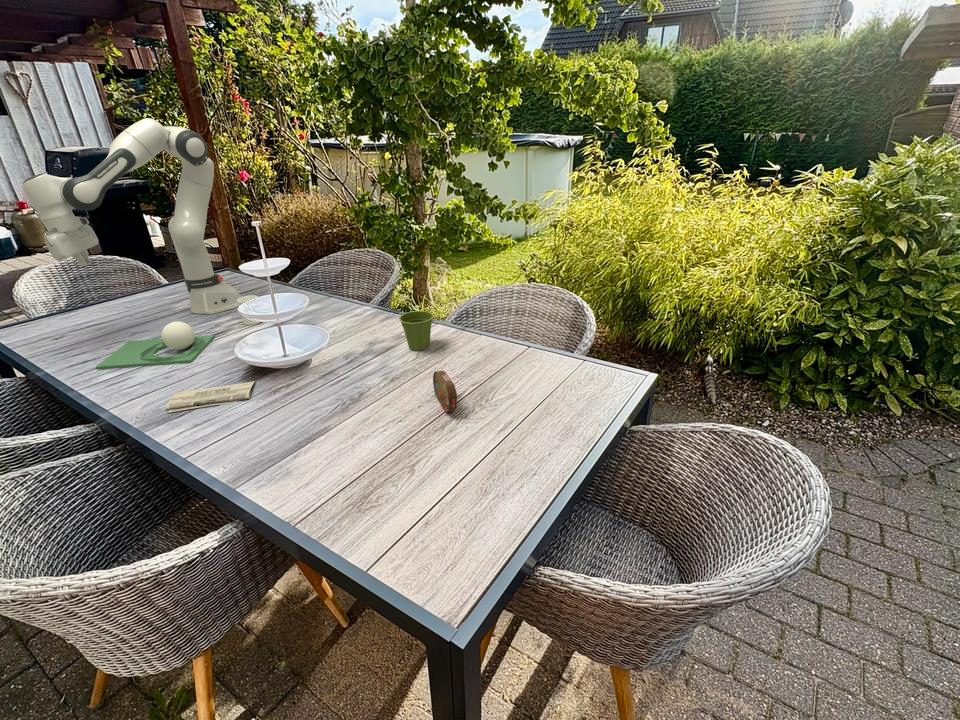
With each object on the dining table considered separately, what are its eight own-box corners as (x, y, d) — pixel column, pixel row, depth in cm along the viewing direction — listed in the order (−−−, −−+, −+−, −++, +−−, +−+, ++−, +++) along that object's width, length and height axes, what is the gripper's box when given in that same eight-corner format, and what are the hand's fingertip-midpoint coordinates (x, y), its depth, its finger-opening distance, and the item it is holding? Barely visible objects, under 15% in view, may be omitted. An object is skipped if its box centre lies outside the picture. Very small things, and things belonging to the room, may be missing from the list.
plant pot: (438, 339, 173) (436, 310, 168) (432, 354, 163) (430, 323, 158) (406, 339, 175) (403, 310, 170) (398, 353, 164) (394, 322, 159)
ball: (184, 326, 178) (187, 352, 177) (154, 325, 169) (157, 352, 168) (198, 318, 173) (202, 345, 171) (168, 317, 164) (171, 345, 163)
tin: (433, 392, 140) (430, 366, 137) (443, 389, 141) (441, 364, 138) (448, 418, 128) (446, 391, 124) (459, 416, 129) (458, 388, 125)
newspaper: (165, 416, 134) (162, 408, 133) (179, 398, 145) (177, 390, 144) (252, 403, 138) (250, 395, 137) (259, 387, 149) (258, 379, 148)
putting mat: (96, 369, 159) (95, 366, 159) (130, 343, 178) (129, 340, 177) (191, 362, 162) (190, 360, 161) (214, 337, 181) (214, 335, 180)
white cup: (267, 318, 197) (262, 295, 192) (257, 326, 190) (251, 302, 185) (249, 318, 198) (243, 295, 193) (238, 325, 191) (232, 301, 186)
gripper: (51, 230, 153) (77, 272, 159) (89, 217, 171) (111, 255, 177) (32, 235, 153) (58, 276, 159) (72, 221, 171) (94, 258, 177)
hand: (86, 264), depth 169 cm, fingers closed
